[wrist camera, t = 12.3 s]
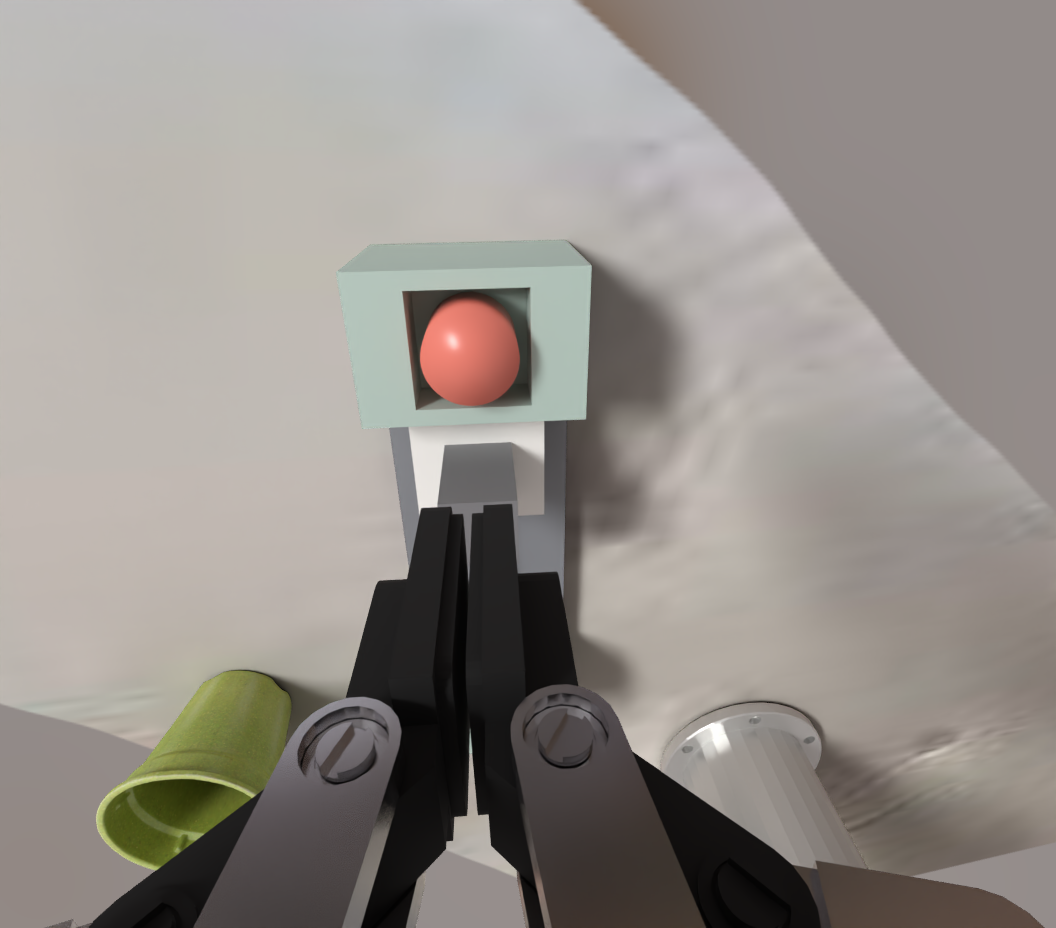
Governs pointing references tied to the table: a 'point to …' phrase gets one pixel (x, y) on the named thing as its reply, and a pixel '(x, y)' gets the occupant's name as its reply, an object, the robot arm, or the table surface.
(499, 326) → the button
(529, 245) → the rail track
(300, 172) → the table surface
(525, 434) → the carriage
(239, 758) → the plant pot
